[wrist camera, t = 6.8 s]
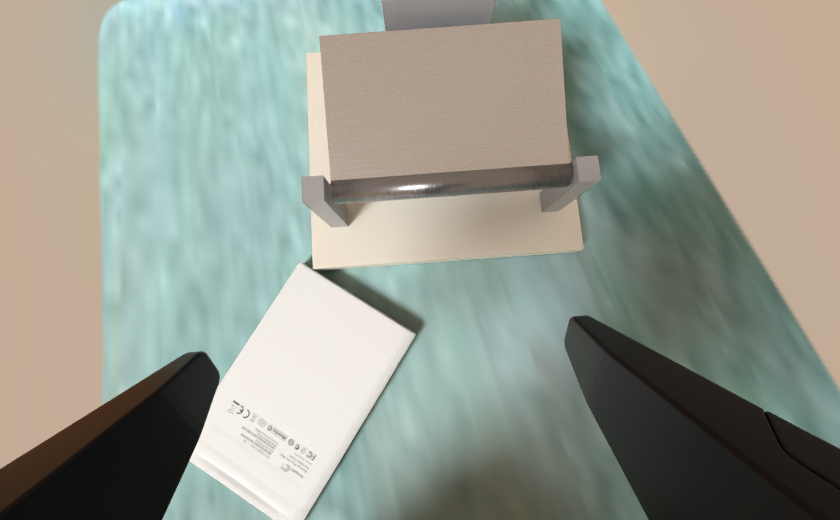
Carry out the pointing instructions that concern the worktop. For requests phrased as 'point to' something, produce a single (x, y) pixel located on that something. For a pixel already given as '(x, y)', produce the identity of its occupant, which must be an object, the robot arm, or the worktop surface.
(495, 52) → the brushed grey panel
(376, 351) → the external hard drive
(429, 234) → the board
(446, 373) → the worktop surface
